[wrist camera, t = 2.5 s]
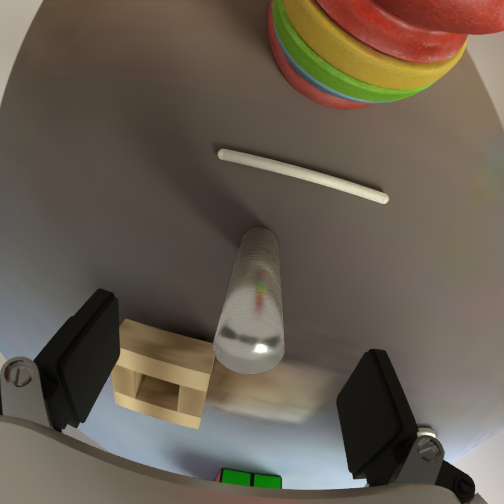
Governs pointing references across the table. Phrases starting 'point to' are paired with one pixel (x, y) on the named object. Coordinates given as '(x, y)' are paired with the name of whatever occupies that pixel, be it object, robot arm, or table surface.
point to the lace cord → (302, 174)
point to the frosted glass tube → (252, 308)
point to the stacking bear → (373, 45)
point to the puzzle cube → (248, 479)
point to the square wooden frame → (162, 373)
